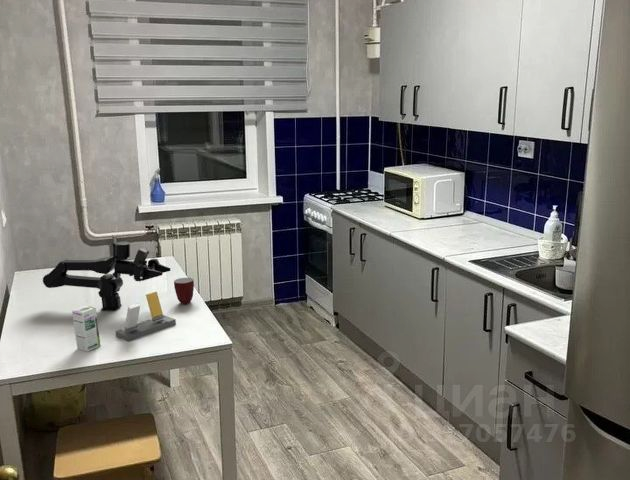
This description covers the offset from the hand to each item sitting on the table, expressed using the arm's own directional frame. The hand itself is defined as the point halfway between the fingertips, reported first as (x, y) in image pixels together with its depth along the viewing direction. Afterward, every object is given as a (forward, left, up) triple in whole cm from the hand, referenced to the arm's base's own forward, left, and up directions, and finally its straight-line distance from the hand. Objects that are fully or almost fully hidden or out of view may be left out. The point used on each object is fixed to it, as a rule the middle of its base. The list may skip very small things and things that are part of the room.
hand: (166, 271), depth 246 cm
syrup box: (-16, -39, -16) cm, 46 cm away
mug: (+5, +7, -16) cm, 18 cm away
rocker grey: (-5, -28, -13) cm, 31 cm away
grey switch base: (-1, -23, -16) cm, 28 cm away
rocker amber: (+2, -18, -13) cm, 22 cm away
